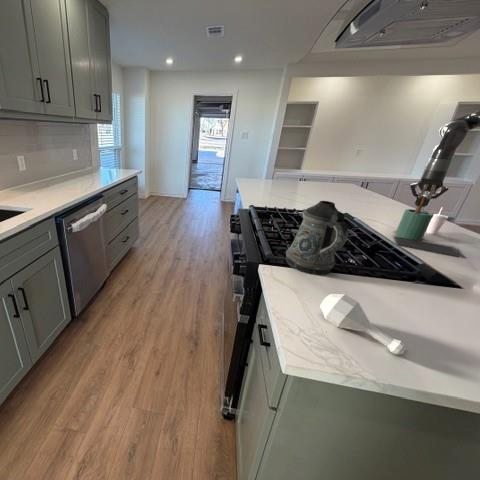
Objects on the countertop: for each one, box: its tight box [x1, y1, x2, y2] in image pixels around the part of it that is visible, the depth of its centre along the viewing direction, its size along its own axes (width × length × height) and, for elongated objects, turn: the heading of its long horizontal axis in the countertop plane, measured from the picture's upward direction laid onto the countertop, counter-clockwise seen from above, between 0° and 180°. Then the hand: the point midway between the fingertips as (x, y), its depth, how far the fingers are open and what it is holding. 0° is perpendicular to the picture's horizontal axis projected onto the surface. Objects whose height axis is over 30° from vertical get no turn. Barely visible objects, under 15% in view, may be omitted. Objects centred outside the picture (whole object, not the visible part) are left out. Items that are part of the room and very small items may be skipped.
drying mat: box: [393, 235, 460, 258], centre depth 117 cm, size 20×12×1 cm, turn 55°
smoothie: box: [426, 206, 449, 235], centre depth 131 cm, size 6×6×14 cm
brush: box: [414, 194, 427, 214], centre depth 123 cm, size 5×5×18 cm
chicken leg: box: [319, 293, 406, 355], centre depth 64 cm, size 8×18×8 cm, turn 37°
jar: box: [394, 208, 435, 241], centre depth 125 cm, size 10×10×13 cm
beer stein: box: [285, 200, 349, 276], centre depth 92 cm, size 16×19×25 cm
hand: (420, 205), depth 122 cm, fingers closed on brush
